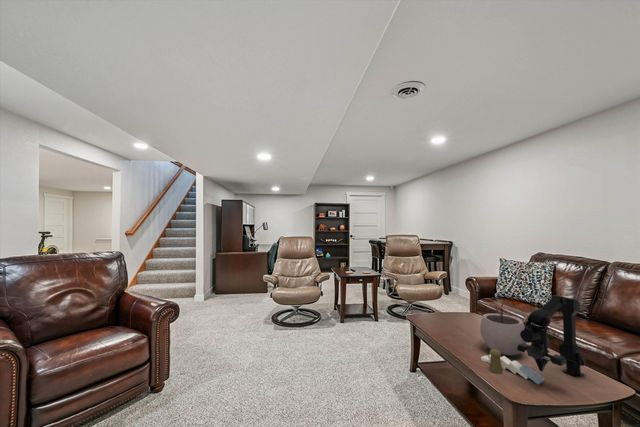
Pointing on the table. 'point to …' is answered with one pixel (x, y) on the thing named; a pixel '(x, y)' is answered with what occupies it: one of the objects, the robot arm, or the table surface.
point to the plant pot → (502, 332)
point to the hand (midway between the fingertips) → (541, 371)
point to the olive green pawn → (495, 361)
